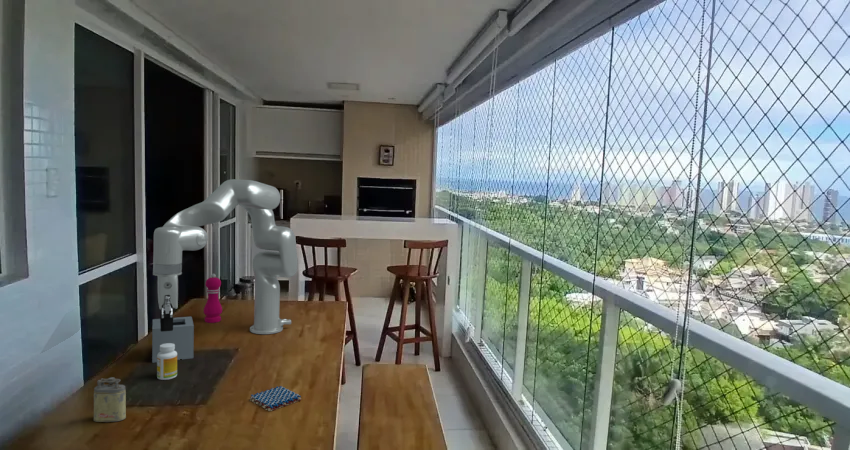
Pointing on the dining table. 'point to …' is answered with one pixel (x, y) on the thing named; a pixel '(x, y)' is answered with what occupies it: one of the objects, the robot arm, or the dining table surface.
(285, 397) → the woven mat
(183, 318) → the box
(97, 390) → the yellow canister
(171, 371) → the supplement bottle
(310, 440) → the dining table surface
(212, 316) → the pink bowling pin
